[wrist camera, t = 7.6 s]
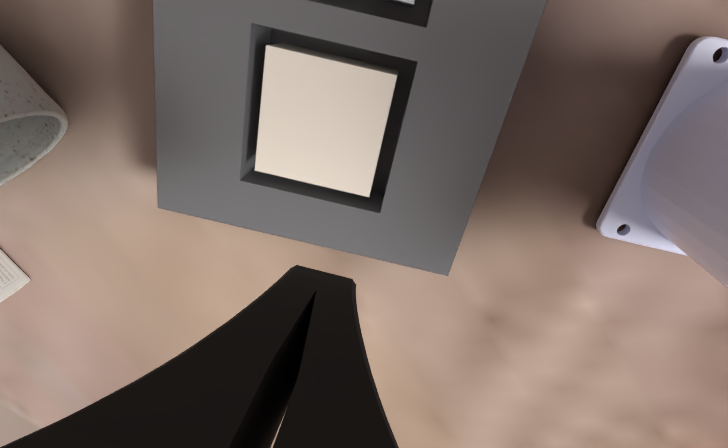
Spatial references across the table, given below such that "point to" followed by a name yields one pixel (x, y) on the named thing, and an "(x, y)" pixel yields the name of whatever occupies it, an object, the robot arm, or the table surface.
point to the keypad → (402, 133)
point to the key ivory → (322, 117)
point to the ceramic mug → (25, 120)
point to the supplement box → (10, 277)
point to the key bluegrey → (404, 2)
